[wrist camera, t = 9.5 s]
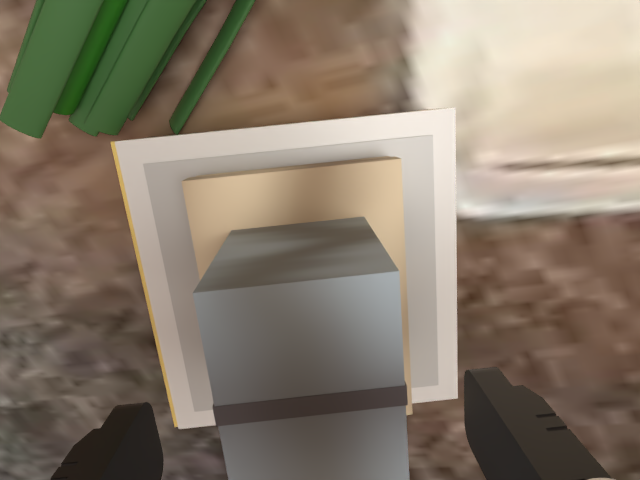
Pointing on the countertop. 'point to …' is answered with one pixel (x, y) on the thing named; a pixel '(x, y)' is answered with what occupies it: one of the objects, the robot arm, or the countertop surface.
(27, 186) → the countertop surface
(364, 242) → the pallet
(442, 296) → the dock
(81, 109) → the daffodil flowers
